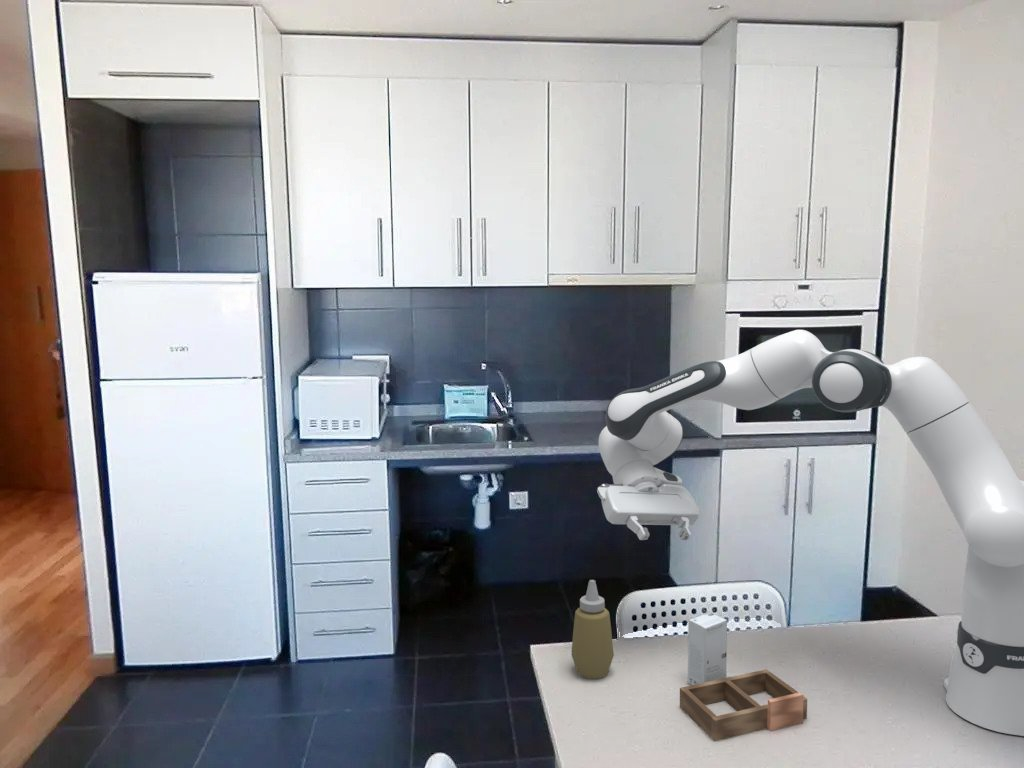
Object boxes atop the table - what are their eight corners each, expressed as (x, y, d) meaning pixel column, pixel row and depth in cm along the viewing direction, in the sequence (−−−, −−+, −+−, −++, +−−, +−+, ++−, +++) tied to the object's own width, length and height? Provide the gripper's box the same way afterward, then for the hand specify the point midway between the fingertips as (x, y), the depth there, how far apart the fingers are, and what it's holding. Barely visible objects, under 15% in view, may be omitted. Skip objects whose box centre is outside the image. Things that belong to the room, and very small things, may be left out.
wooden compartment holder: (766, 687, 133) (766, 661, 132) (810, 721, 122) (811, 692, 122) (679, 706, 127) (679, 679, 127) (717, 743, 117) (718, 714, 116)
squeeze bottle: (568, 680, 137) (567, 587, 135) (574, 659, 144) (574, 571, 142) (611, 684, 135) (611, 591, 133) (616, 663, 143) (616, 574, 140)
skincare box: (704, 693, 131) (705, 628, 130) (686, 682, 135) (686, 619, 134) (727, 682, 135) (729, 619, 133) (709, 672, 139) (710, 611, 137)
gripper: (599, 472, 144) (625, 526, 134) (686, 476, 152) (716, 527, 142) (588, 495, 148) (612, 548, 138) (673, 497, 156) (702, 548, 145)
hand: (666, 538), depth 140 cm, fingers open, 8 cm apart
